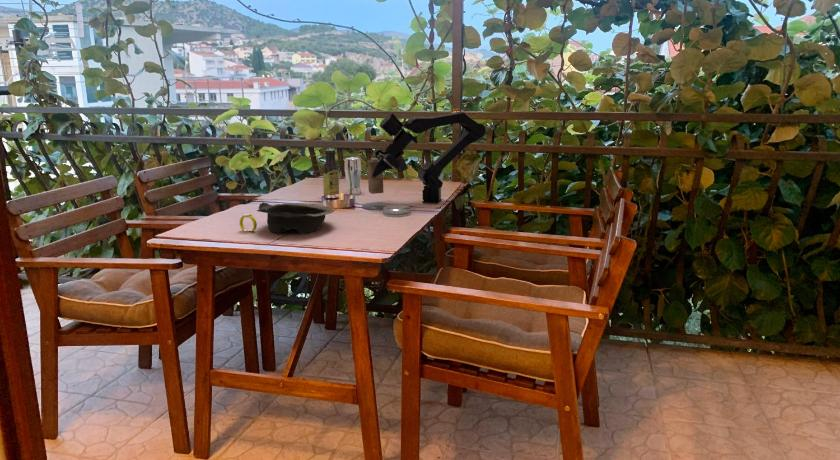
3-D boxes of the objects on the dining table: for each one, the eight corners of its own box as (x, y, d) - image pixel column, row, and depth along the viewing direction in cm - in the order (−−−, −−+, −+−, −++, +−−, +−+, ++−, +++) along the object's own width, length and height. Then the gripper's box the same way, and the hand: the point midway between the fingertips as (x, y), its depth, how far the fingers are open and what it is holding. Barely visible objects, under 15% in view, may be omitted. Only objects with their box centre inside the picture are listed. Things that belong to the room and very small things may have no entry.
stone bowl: (247, 237, 191) (245, 208, 189) (276, 223, 215) (275, 197, 213) (323, 238, 187) (321, 209, 185) (343, 223, 212) (342, 197, 210)
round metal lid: (414, 212, 223) (414, 205, 222) (405, 218, 214) (405, 211, 213) (388, 210, 226) (388, 204, 225) (379, 216, 217) (378, 210, 216)
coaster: (394, 204, 234) (394, 203, 234) (384, 210, 224) (384, 209, 224) (368, 202, 237) (368, 201, 237) (357, 209, 227) (357, 207, 227)
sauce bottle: (331, 200, 242) (329, 151, 237) (320, 198, 246) (317, 150, 241) (343, 197, 247) (340, 149, 242) (332, 195, 251) (329, 148, 246)
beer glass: (361, 195, 252) (359, 159, 248) (344, 195, 252) (343, 159, 248) (363, 191, 258) (361, 157, 255) (347, 191, 259) (345, 157, 255)
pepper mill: (380, 190, 232) (378, 157, 228) (383, 192, 228) (382, 158, 224) (368, 191, 231) (367, 157, 227) (371, 193, 226) (370, 159, 223)
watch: (239, 232, 198) (236, 215, 197) (244, 230, 201) (242, 213, 199) (253, 233, 196) (251, 215, 194) (259, 230, 198) (256, 213, 197)
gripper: (421, 161, 222) (393, 193, 222) (405, 155, 239) (380, 184, 239) (400, 141, 218) (372, 174, 217) (386, 136, 235) (360, 166, 234)
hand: (371, 175), depth 227 cm, fingers closed on pepper mill, 5 cm apart
